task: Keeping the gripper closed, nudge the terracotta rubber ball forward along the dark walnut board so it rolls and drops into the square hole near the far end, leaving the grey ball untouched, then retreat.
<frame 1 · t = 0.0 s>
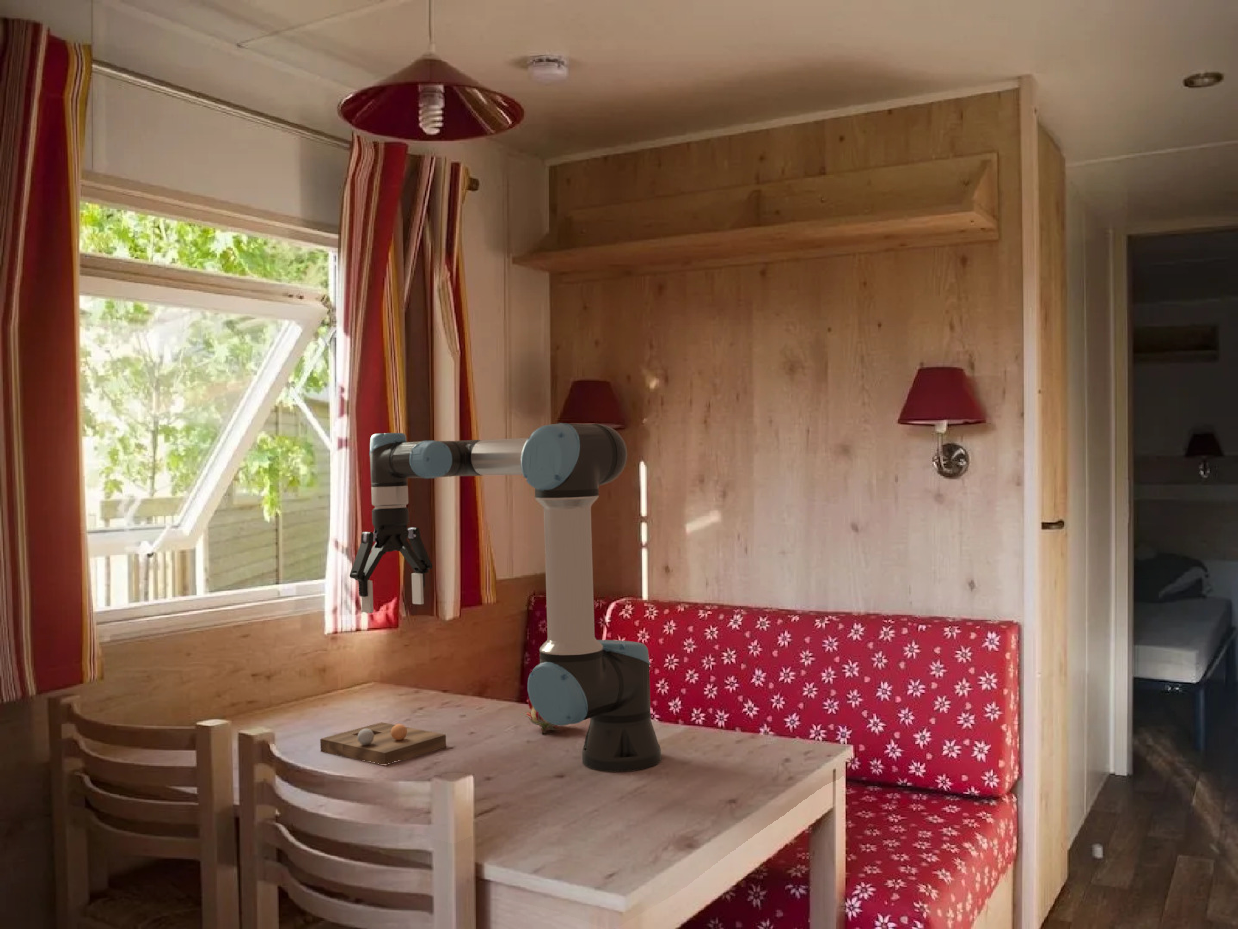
hand: (393, 608, 232), 28 cm above the table, fingers open, 13 cm apart
flower: (547, 731, 238), on the table
board: (383, 749, 226), on the table
ball: (399, 732, 223), point 4 cm above the table, touching board
grey ball: (365, 736, 220), point 4 cm above the table, touching board
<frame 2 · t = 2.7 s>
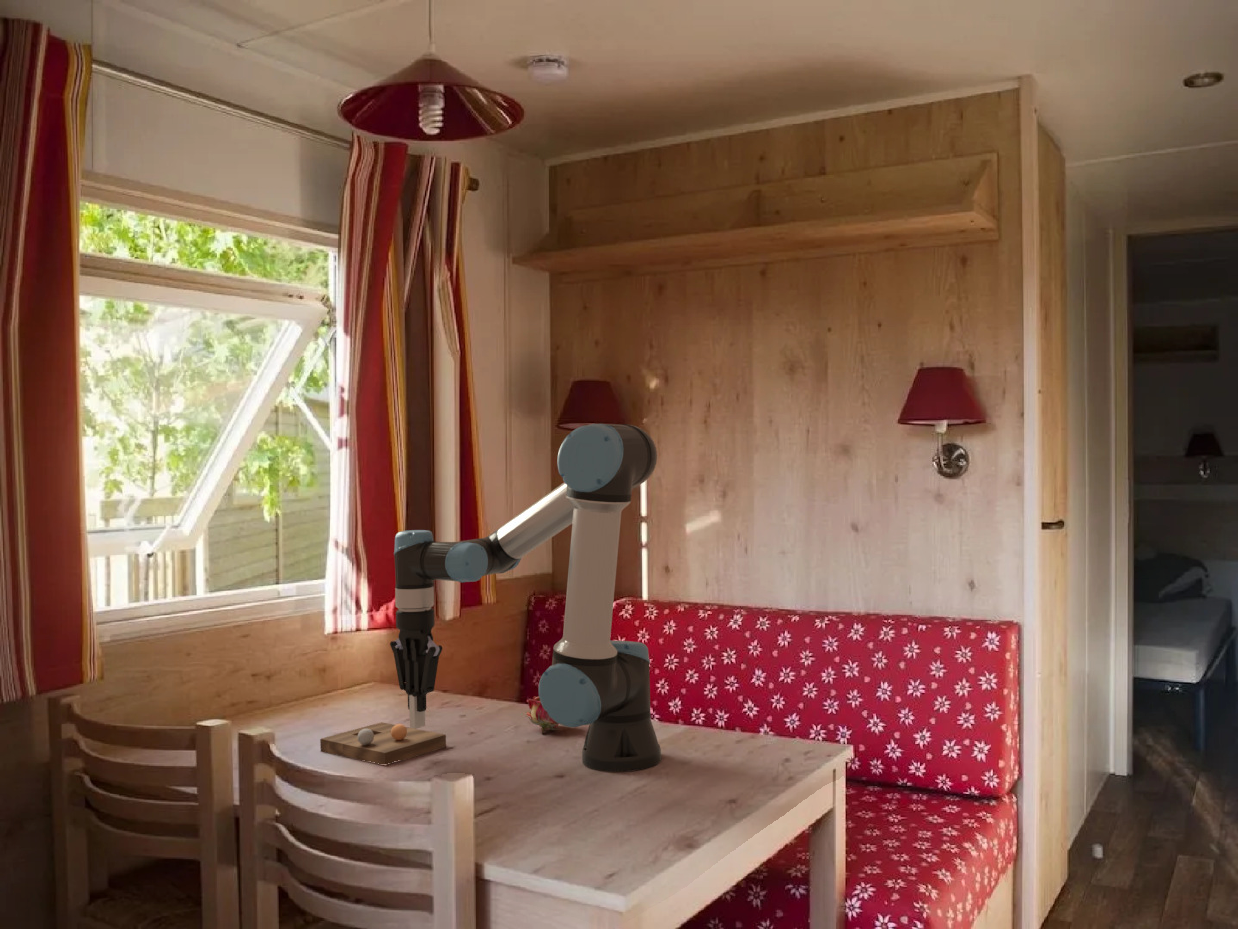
hand: (417, 726, 220), 6 cm above the table, fingers closed
nothing on the table moved.
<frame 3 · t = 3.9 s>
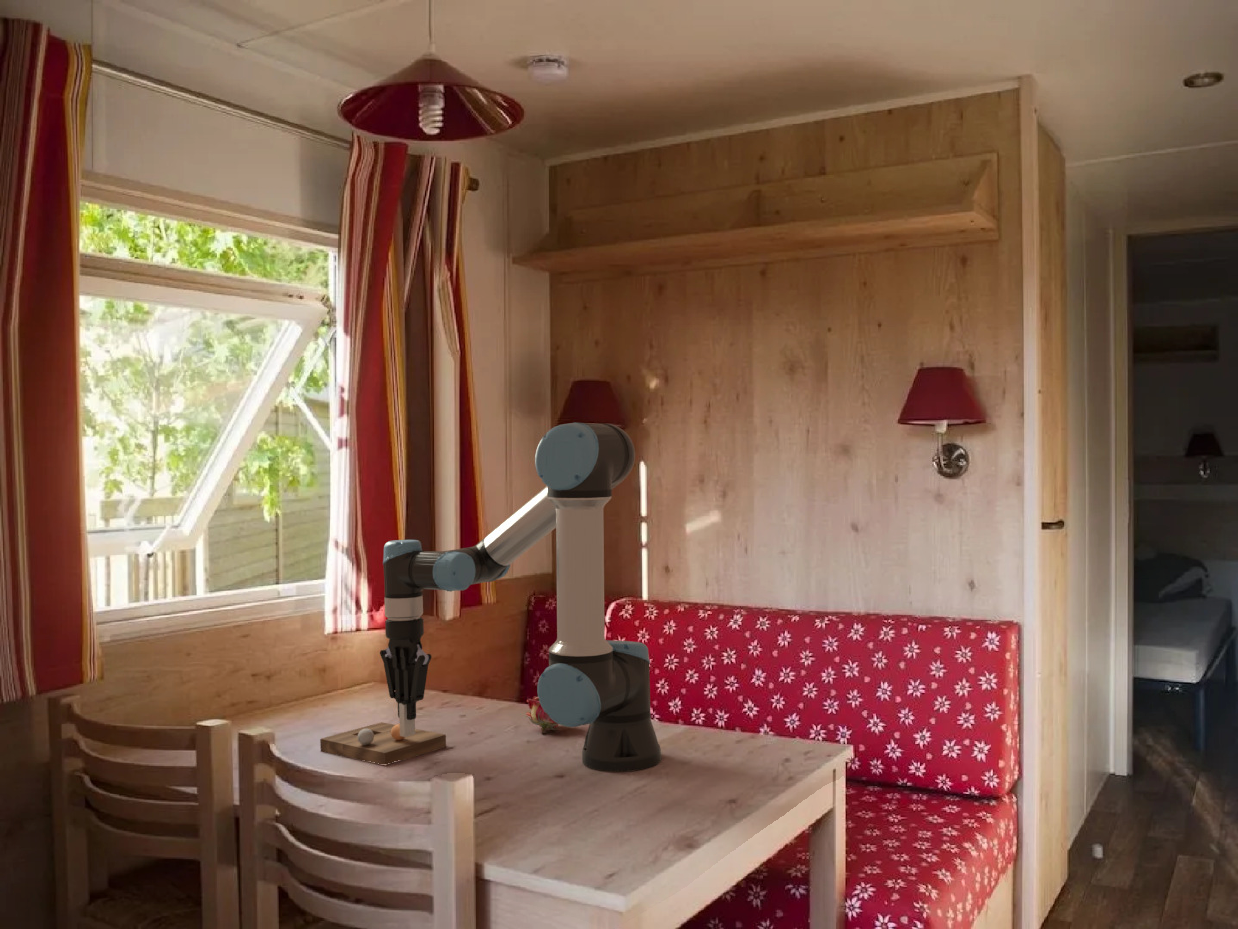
hand: (407, 734, 222), 4 cm above the table, fingers closed
nothing on the table moved.
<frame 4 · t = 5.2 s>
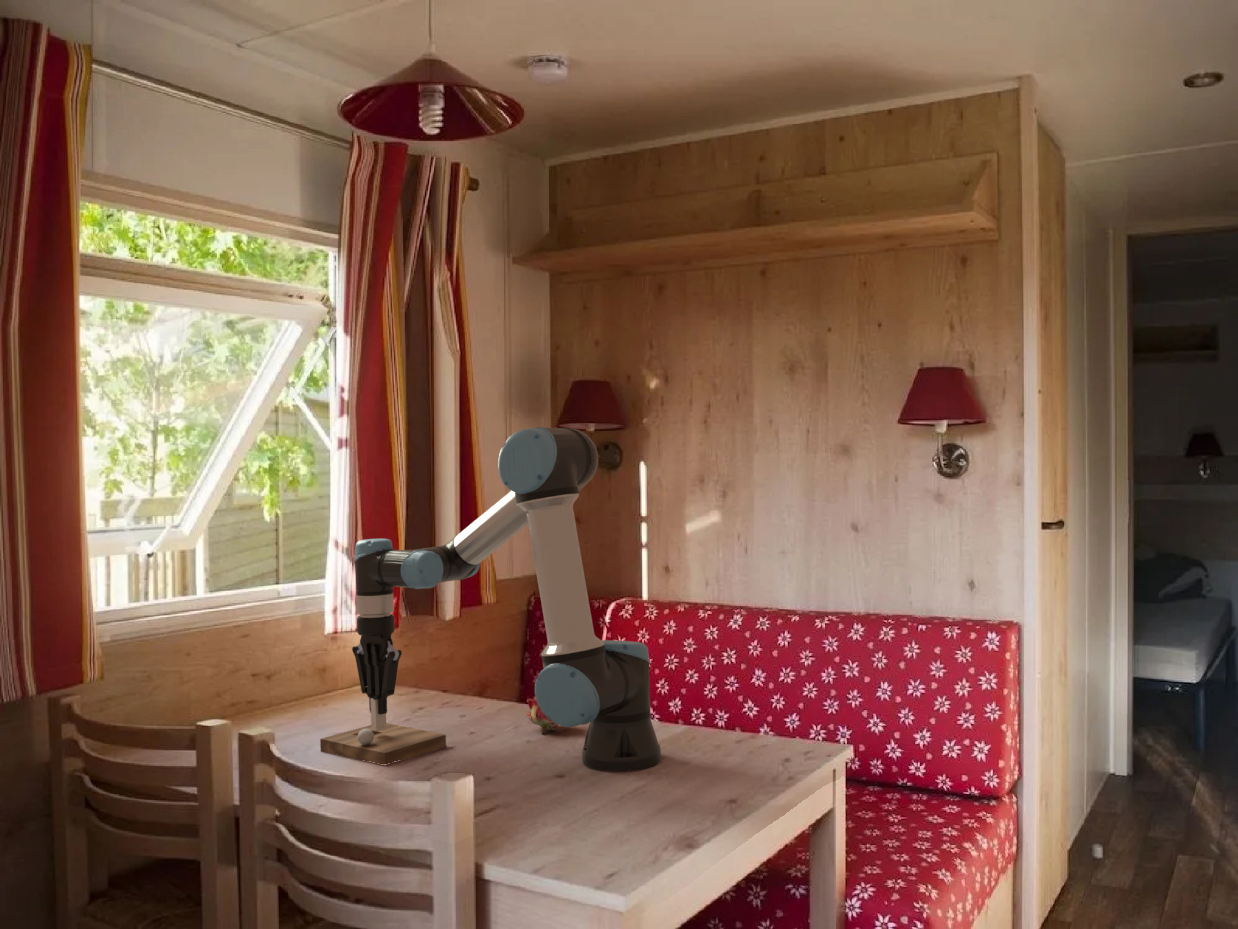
hand: (378, 729, 227), 4 cm above the table, fingers closed
ball: (365, 737, 230), point 2 cm above the table, tilted 60°
everything else where it was.
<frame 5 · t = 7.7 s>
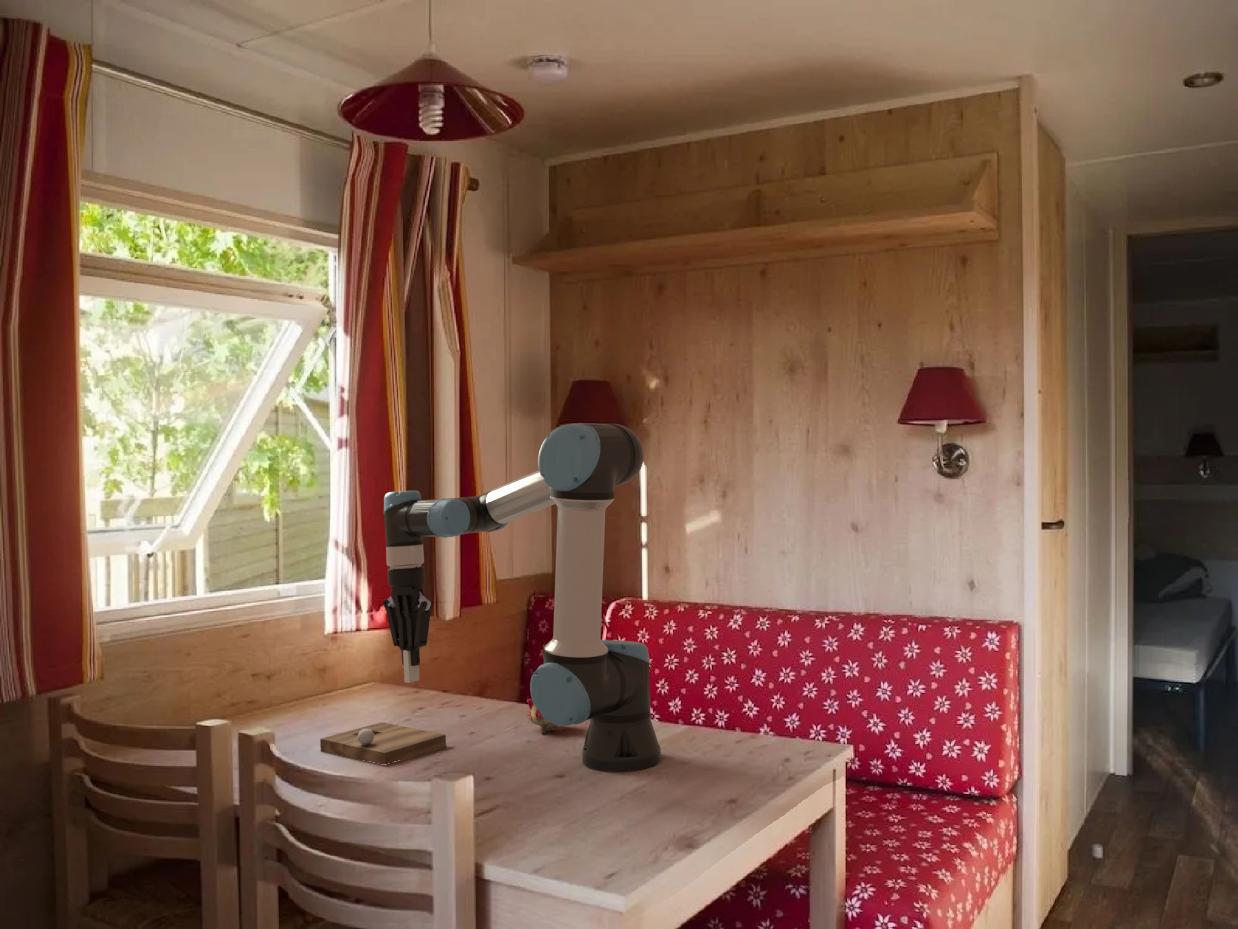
hand: (412, 681, 226), 14 cm above the table, fingers closed
ball: (367, 738, 229), point 2 cm above the table, tilted 37°
everything else where it was.
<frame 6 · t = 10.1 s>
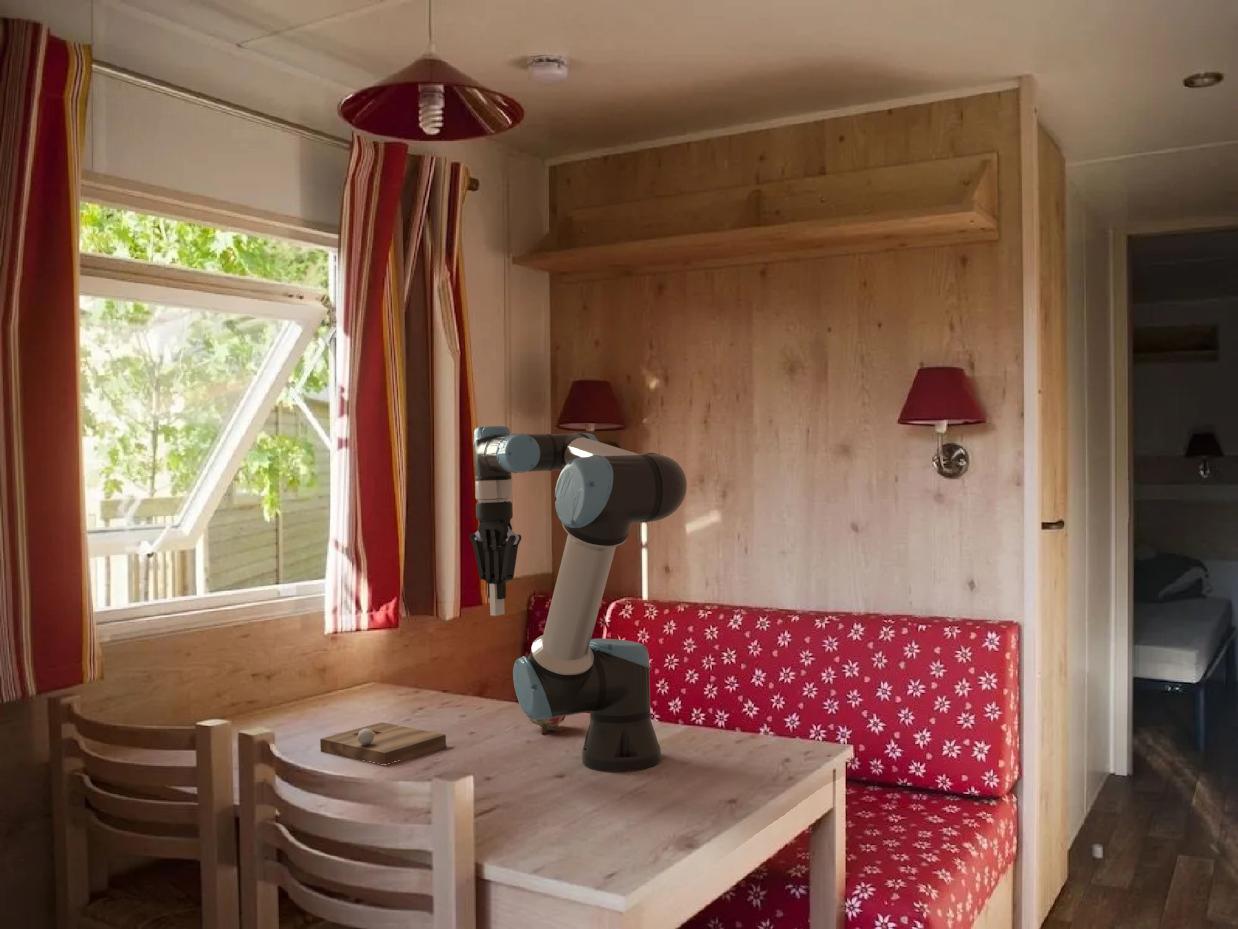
hand: (497, 614, 229), 26 cm above the table, fingers closed
ball: (368, 738, 229), point 2 cm above the table, tilted 17°
everything else where it was.
at the end: ball 0.6 cm from the target spot on the board, point 1.6 cm above the board's base; grey ball moved 0.0 cm from its start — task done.
